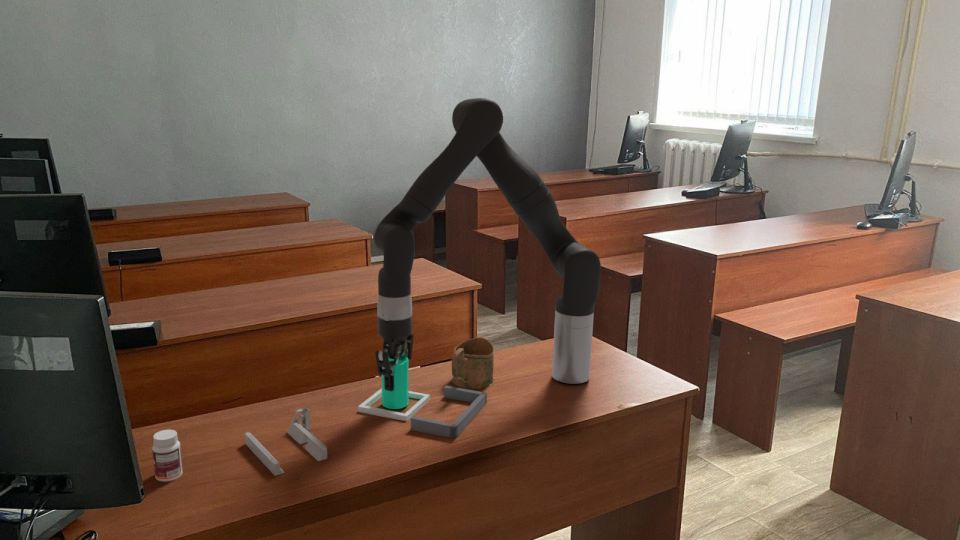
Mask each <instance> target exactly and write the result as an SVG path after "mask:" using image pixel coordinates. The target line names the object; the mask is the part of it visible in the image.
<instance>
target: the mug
mask: <svg viewBox="0 0 960 540" xmlns="http://www.w3.org/2000/svg"><path fill="white" fill-rule="evenodd" d="M453 352H454V353H453V355H452V358H451V374H452V378H451V381H452V383H453V384H454V385H455V386H457V387H458V388H462V389H468V390H472V389H473V390H475V388H477V389H482V388H481V387H484V388H487V387H489V386H488V385H490V384H492V383H493V381H494V382H495V378H494V353H495V348H494V345H493V344H492V342H491V341H490V340H488V339H487V338H484V337H479V336H478V337H473V338H469V339H467V340H464V341H463V342H461V343H459V344H458V345H456V346H455V347H454V349H453ZM493 378H494V379H493ZM493 384H494V383H493ZM493 384H492V385H493ZM486 386H487V387H486ZM470 388H471V389H470Z"/></svg>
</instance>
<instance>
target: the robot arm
mask: <svg viewBox="0 0 960 540" xmlns="http://www.w3.org/2000/svg"><path fill="white" fill-rule="evenodd" d="M451 116H452V117H451V121H452V126H453V128H454V131H455V133H454V135H453V138H452V139H451V140H450V142H449V144H448V145H446V147H445V148H444V149H443V151H442V152H441V153H440V154H439V155H438V156H437V157H436V158H435V159H434V160H433V161H432V162H431V163H430V164H429V165H427V167H426V168H424V170H423V171H422V172H421V173H420V174H419V176H418V177H417V178H416V179H415V181H414V182H413V183H412V185H411V186H410V187H409V189H408V191H407V192H406V193H405V195H404V196H403V198H402V199H401V201H400V202H399V203H398V204H397V205H396V206H394V207H393V208H392V209H391V210H390V211H389V212H388V213H387V214H386V215H385V216H384V218H382V220H381V221H380V222H379V224H378V225H377V227H376V229H375V231H374V234H373V241H374V244H375V246H376V248H377V249H378V250H380V251H381V252H382V253H383V264H382V267H380V269H379V270H378V276H377V278H378V279H377V289H378V291H377V292H378V293H377V294H378V296H377V302H376V303H377V304H376V306H377V334H378V335H379V336H380V337H381V338H382V339H383V342H382V346H381V347H382V348H381V350H376V351H375V361H376V367H377V374H378V375H381V376H382V375H384V388H385V390H388V391H393V390H394V366H395V365H398V361H399V358H402V359H405V358H406V357H407V358H408V360H409V361H411V360H412V358H413V357H412V356H413V355H412V354H413V347H414V346H413V345H414V338H415V336H414V334H413V300H412V291H411V290H412V287H411V286H412V282H411V281H412V280H411V279H412V278H411V277H412V276H411V273H412V270H413V265H414V261H415V254H416V241H415V237H414V234H413V232H412V231H413V230H414V229H415V228H416V227H417V226H418V225H419V224H422V223H425V222H427V221H428V220H429V219H430V218H431V217H432V215H433V213H435V211H436V209H437V208H438V206H439V205H440V203H441V202H442V200H443V199H444V198H445V196H446V195H447V193H448V192H449V190H450V189H451V188H452V187H453V185H454V184H455V183H456V181H457V180H458V179H459V177H460V176H461V175H462V174H463V172H464V171H465V170H466V168H468V166H469V165H470V164H471V163H472V162H473V161H474V160H475V158H478V159H479V161H480V162H481V163H482V165H483V166H484V168H485V169H486V170H487V172H488V174H489V175H490V177H491V178H492V180H493V182H494V183H495V185H496V187H498V189H499V190H500V193H501V194H502V195H503V197H504V198H505V200H506V201H507V203H508V205H509V206H510V207H511V208H512V210H513V211H514V212H515V214H516V215H517V217H518V218H519V219H520V221H522V223H523V224H524V226H525V227H526V228H527V230H529V232H530V233H531V234H532V235H533V236H534V237H535V239H536V240H537V241H538V243H539V244H540V246H541V248H542V250H543V251H544V253H545V255H546V257H547V258H548V260H549V261H550V264H551V267H552V268H553V269H554V271H555V272H556V274H557V276H559V277H560V278H562V279H563V286H562V295H560V296H559V295H558V297H557V298H556V300H555V311H554V313H555V314H554V327H553V328H554V329H553V334H554V335H553V350H552V363H551V364H552V367H551V368H552V369H551V370H552V371H551V376H552V378H553V379H554V380H556V381H558V382H561V383H565V384H571V385H574V384H575V385H577V384H583V383H585V382H588V381H589V380H590V374H591V373H590V372H591V359H592V346H593V344H592V343H593V332H594V329H593V328H594V317H595V316H594V312H595V306H596V304H597V301H598V299H599V293H600V284H601V274H602V272H601V271H602V268H601V267H602V266H601V265H602V263H601V260H600V257H599V255H598V253H596V252H595V251H594V250H592V249H590V248H588V247H587V246H584V245H582V244H581V243H580V242H579V241H578V240H577V239H576V238H575V237H574V236H573V234H572V233H571V232H570V231H569V230H568V229H567V227H566V225H565V224H564V222H563V220H562V219H561V216H560V213H559V209H558V207H557V203H556V201H555V198H554V196H553V194H552V192H551V191H550V189H549V188H548V187H547V185H546V183H545V182H544V181H543V179H542V177H541V176H540V175H539V173H538V172H537V171H536V170H535V168H533V167H532V165H530V164H529V162H527V161H526V160H524V158H523V157H521V156H520V155H519V154H518V153H517V152H516V151H514V149H512V147H511V146H510V145H509V144H508V143H507V141H506V140H505V139H504V137H503V135H502V134H501V129H502V127H503V123H504V114H503V110H502V109H501V107H500V105H499V104H498V102H496V101H495V100H492V99H490V98H484V97H478V98H468V99H464V100H462V101H460V102H458V103H457V104H456V106H455V107H454V109H453V112H452V115H451ZM389 359H394V361H389ZM390 365H391V370H390ZM382 367H383V369H382Z"/></svg>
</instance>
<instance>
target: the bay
mask: <svg viewBox="0 0 960 540" xmlns="http://www.w3.org/2000/svg"><path fill="white" fill-rule="evenodd" d="M443 398H445V399H450V400H456V401H460V402H466V403H467V402H468V403H471V404H470V405H469V406H468V407H467V408H465V410H464V411H463V412H462V413H461V414H460V415H459V416H458V417H457V419H455V420H454V422H453V423H452V422H451V423H450V422H446V421H441V420H436V419H431V418H425V417H421V416H417V415H416V416H415V415H413V416H412V417H411V418H410V431H416V432H419V433H425V434H430V435H435V436H440V437H445V438H451V439H455V440H456V439H457V438H458V436H459V435H460V434H461V433H462V432H463V431H464V430H465V428H466V427H467V426H468V425H469V424H470V423H471V421H473V419H474V418H475V417H476V416H477V415H478V414H479V412H481V410H482V409H483V408H484V407H485V406H486V405H487V403H488V393H487V392H483V391H480V390H479V391H477V390H474V389H473V390H472V389H469V388H463V387H458V386H457V387H455V386H450V385H445V386H444V387H443Z"/></svg>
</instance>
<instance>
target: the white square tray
mask: <svg viewBox="0 0 960 540" xmlns="http://www.w3.org/2000/svg"><path fill="white" fill-rule="evenodd" d="M409 398H411V399H416V400H418V401H417V402H416V403H415V404H414V405H413V406H411V408H409V409H408V410H407V411H406V412H405V413H404V412H399V411H394V410H390V409H389V410H388V409H385V408H379V407H374V406H372V405H374V403H376V402H377V401H378V400H380V399H382V387H381V388H379V390H377V391H376V392H375V393H373V394H372V395H371V396H369V397H368V398H367V399H366V400H365V401H363V402H362V403H361V404H359V405H358V406H357V412H358V413H361V414H367V415H372V416H378V417H383V418H388V419H394V420H398V421H399V420H400V421H404V422H408V421H409V420H411V418H412V417H413V416H415V414H417V413H418V412H419V411H420V409H422V407H423V406H425V405H426V404H427V403H428V402H429V401H430V400H431V394H427V393H421V392H416V391H412V390H409Z"/></svg>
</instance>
